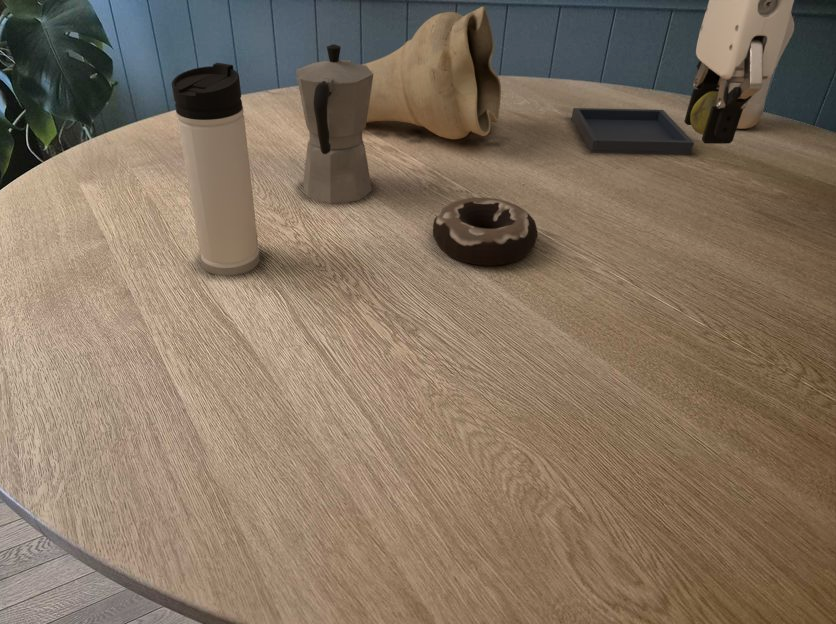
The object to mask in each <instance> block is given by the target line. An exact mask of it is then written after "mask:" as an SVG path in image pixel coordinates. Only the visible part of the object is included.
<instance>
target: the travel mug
mask: <svg viewBox="0 0 836 624" xmlns="http://www.w3.org/2000/svg"><path fill="white" fill-rule="evenodd" d="M240 81H241V80H240V75H239V73H238V71H237V70H235V69H234V65H233V64H229V63H222V62H215V63H213V64H212V66H211V65H209V66H208V65H207V66H200V67H196V68H192V69H188V70H186V71H184V72H181V73H180V74H177V76H175V77H174V78H173V79H172V81H171V88H172V96H173V101H174V102H175V103H174V104H175V105H174V107H175V116H176V118H177V120H176V122H177V127H178V132H179V140H180V144H181V150H182V156H183V162H184V168H185V169H184V170H185V173H186V181H187V187H188V191H189V196H190V203H191V209H192V214H193V220H194V227H195V231H196V232H195V233H196V237H197V242H198V243H197V244H198V249H199V255H200V260H201V266H202V268H203V269H204V270H205V271H206V272H207V273H209V274H211V275H214V276H221V277H229V276H230V277H231V276H237V275H238V276H239V275H242V274H245V273H247V272H250V271H252V270H253V269H255V268H256V267H257V266H258V265H259V263H260V259H261V258H260V250H259V249H260V248H259V241H258V240H259V239H258V231H257V221H256V214H255V213H256V212H255V204H254V196H253V195H254V194H253V185H252V177H251V175H252V174H251V166H250V157H249V150H248V149H249V147H248V142H247V141H248V140H247V131H246V120H245V114H244V106H243V101H242V91H241V82H240Z"/></svg>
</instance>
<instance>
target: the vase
mask: <svg viewBox="0 0 836 624" xmlns="http://www.w3.org/2000/svg"><path fill="white" fill-rule="evenodd" d="M494 51H495V40H494V36H493V31H492V26H491V22H490V19H489V15H488V11H487V9H486V7H485V6H479V7H478V8H477V9H474V10H473V11H471V12H468V13H466V14H465V15H462V14H460V13H458V12H456V11H455V12H454V11H446V12H440V13H437V14H435V15H433V16H431V17H429V18H428V19H427V20H425V22H424V23H423V24H422V25H421V26H419V28H418V29H417V30H416V31H415V33H414V34H413V36H412V38H411V39H408V40H407V41H406V42H405V43H404V44H403V45H402V46H401V47H400V48H398V49H396V50H395V51H393V52H391V53H389V54H387V55H385V56H383V57H381V58H378V59H375V60H372V61H369V62H367V63H366V62H365V63H363V64H362V65H365V66H367V67H368V68H369V69H370V71H371V72H372V73H373V74H374V75H373V81H372V88H371V95H370V102H369V108H368V115H367V122H366V123H372V122H401V123H409V124H412V125H416V126H418V127H423V128H425V129H426V130H427V131H429V132H430V133H432V134H434V135H436V136H438V137H440V138H444V139H449V140H460V139H463V138H465V137H467V136H468V135H469V134H470V132H472V133H474V134H476V135H479V136H482V137H485V136H487V135H488V134H490V132H491V127H492V123H497V122H498V121H499V116H500V108H501V97H502V84H501V79H500V77H499V75H498V74H497V72H496V71H495V70H494V69H493V67H492V59H493V56H494Z"/></svg>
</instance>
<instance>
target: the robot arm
mask: <svg viewBox="0 0 836 624" xmlns="http://www.w3.org/2000/svg"><path fill="white" fill-rule="evenodd" d="M793 2H794V3H795V0H708V3H707V7H706V10H705V13H704V15H703V19H702V22H701V26H700V29H699V34H698V39H697V43H696V46H695V47H696V48H695V55H696V57H697V59H698V62H697V64H696V68H697V72H696V75H695V77H694V81H693V84H692V85H693V89H692V91H691V96H690V99H689V103H688V106H687V110H686V113H685V118H684V123H685V124H686V125H687V126H692V125H691V122H690V117H691V111H692V109H693V106H694V105H695V103H696V102H697V101H698V100H699V99H700V98H701V97H702V96H703V95H705V94H706V93H708V92H711V91H717V92H718V97H717V103H716V106H712V107H711V110H710V114H709V117H708V120H707V124H706V127H705V130H704V134H703V135H702V137H701V141H702V142H703V143H704V144H706V145H707V144H713V145H714V144H716V145H717V144H718V145H719V144H721V145H722V144H731V143H732V142H733V140H734V138H735V136H736V135H735V134H736V132H737V130H738V128H737V126H738V123H739V120H740V117H741V114H742V111H743V109H745V108H746V106H747V103H748V100H749V99H750V98H751V97H752V96H753V95H754V94H755V93H757V92H758V91H759V90H760V89H761V88H762V84H763V79H768V78H769V77H770V76H771V75H772V73H773V70H774V71H775V69H776V68H775V65H776V62H777V59H778V56H779V52H780V49H781V46H782V42H783V39H784V36H785V32H786V29H787V25H788V22H789V18H790V14H792V9H793V5H794V3H793ZM774 68H775V69H774ZM735 71H744V77H733V76H734V75H735V74H734V72H735ZM773 74H774V73H773ZM772 76H773V75H772ZM730 83H741V84H740V86H739V87H734V88H733V89H732V90H731V91H730V92H729V86H730ZM728 92H729V93H728Z"/></svg>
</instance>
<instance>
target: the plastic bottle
mask: <svg viewBox="0 0 836 624" xmlns="http://www.w3.org/2000/svg"><path fill="white" fill-rule="evenodd" d="M794 3H795V1H794V2H793V4H794ZM794 32H795V22H794V17H793V15H792V13H791V14H790V18H789V22H788V25H787V29H786V32H785V36H784V39H783V42H782V46H781V49H780V52H779V56H778V59H777V62H776V65H775V68H774V70H773V73H772V75H771V76H770V77H769V78H768V79H763V84H762V88H761V89H760V90H759V91H758V92H757V93H755V94H754V95H753V96H752V97H751V98H750V99H749V100H748V103H747V106H746V108H745V109H743V111H742V114H741V117H740V120H739V123H738V126H737V129H740V130H743V129H744V130H746V129H751V128H753V127H754V126H756V125H757V124H758V122H759V121H760V120H761V118H762V116H763V114H764V110H765V106H766V97H767V95H768V91H769V89H770V84H771V81H772V79H773V78H772V77H773V75H774V72H775V70H776V68H777V66H778V64H779V61H780V59H781V57H782V55H783V53H784V51H785V49H786V48H787V46H788V45H789V42H790V39H791V38H792V37H793V34H794ZM734 74H735V75H734V76H732V77H744V71H734ZM740 84H741V83H730V86H729V92H730V91H731V90H732V89H733V88H734V87H739V86H740ZM729 92H728V93H729Z"/></svg>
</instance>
